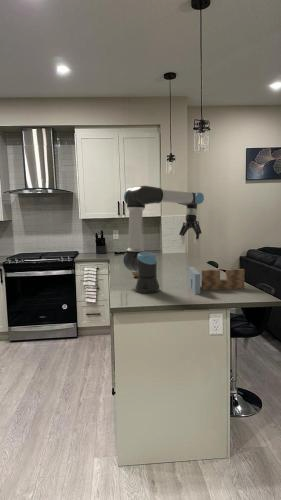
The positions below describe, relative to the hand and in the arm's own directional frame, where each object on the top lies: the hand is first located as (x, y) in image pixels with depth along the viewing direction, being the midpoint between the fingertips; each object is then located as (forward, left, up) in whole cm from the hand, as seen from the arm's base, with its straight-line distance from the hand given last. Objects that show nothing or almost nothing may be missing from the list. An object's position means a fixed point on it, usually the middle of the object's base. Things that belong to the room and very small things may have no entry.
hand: (189, 244), depth 224 cm
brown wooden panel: (-5, -36, -25) cm, 44 cm away
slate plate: (-20, -26, -25) cm, 41 cm away
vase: (-27, +27, -25) cm, 45 cm away
